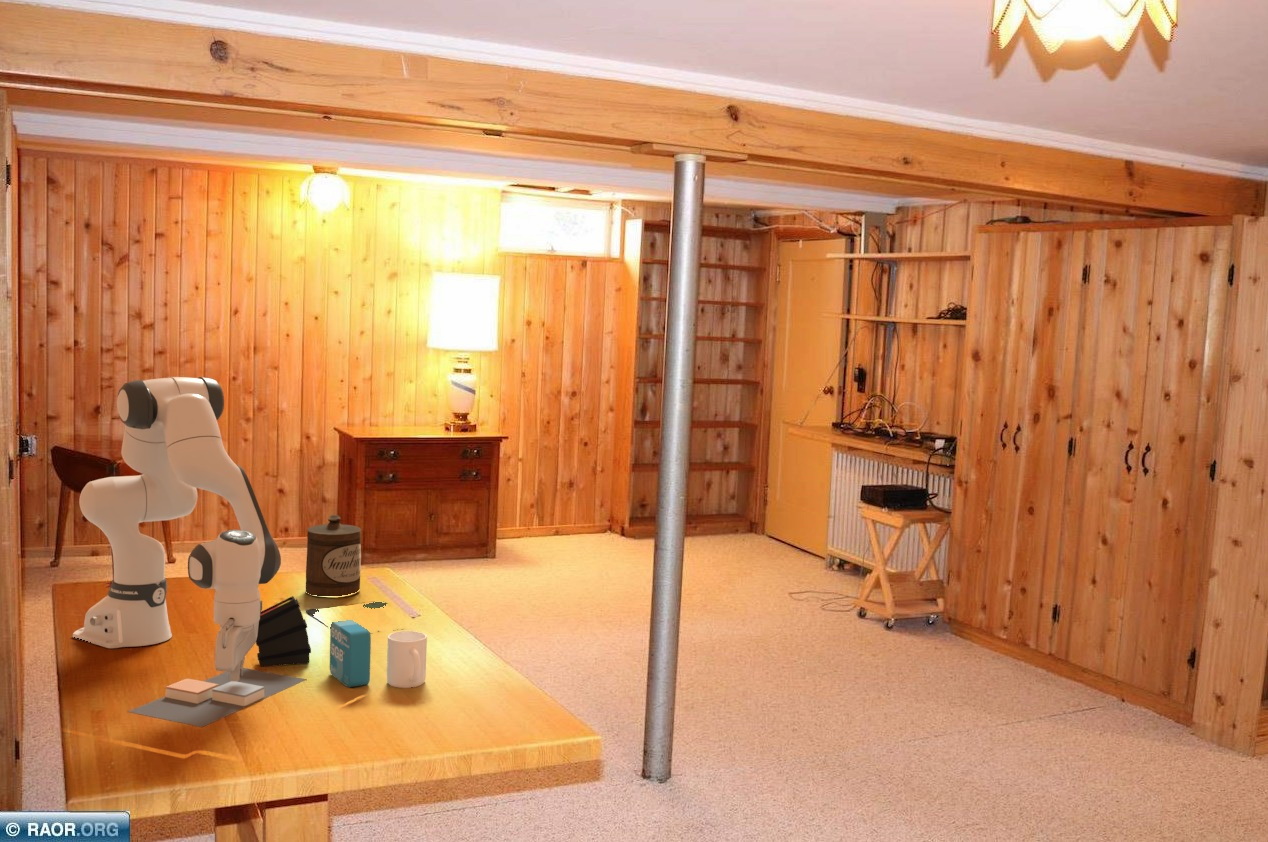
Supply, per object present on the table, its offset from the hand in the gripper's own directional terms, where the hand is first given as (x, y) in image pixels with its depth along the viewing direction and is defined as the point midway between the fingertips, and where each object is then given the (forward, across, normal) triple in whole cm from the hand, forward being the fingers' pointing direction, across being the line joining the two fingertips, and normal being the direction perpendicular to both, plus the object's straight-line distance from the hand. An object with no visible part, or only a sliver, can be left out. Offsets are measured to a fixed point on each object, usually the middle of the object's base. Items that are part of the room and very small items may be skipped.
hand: (236, 679), depth 231 cm
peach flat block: (+3, -1, +10) cm, 11 cm away
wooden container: (+5, +92, -4) cm, 92 cm away
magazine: (+5, +26, -3) cm, 26 cm away
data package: (+5, +15, -20) cm, 26 cm away
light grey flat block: (+3, -2, +1) cm, 4 cm away
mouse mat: (+6, +64, -17) cm, 67 cm away
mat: (+5, +3, +4) cm, 7 cm away
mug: (+5, +12, -33) cm, 36 cm away
